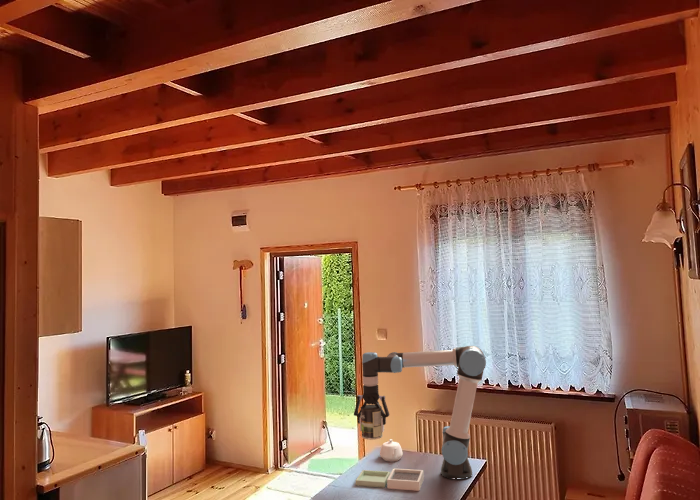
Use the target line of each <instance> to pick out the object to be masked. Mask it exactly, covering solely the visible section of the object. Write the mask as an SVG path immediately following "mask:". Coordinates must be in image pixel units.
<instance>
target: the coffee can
mask: <svg viewBox="0 0 700 500" xmlns="http://www.w3.org/2000/svg"><path fill="white" fill-rule="evenodd" d="M382 407H383V406H381V407H380V408H377V407H376V406H375V404H367V405H366V407H365V408H362V406H360V410H361V424H362V431H361V438H362V439H365V440H370V441H373V440H378V439H379V440H380V439H382V438H383V432H381V418H382V416H381V409H382V410H383V408H382Z"/></svg>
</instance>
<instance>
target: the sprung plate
mask: <svg viewBox="0 0 700 500" xmlns="http://www.w3.org/2000/svg"><path fill="white" fill-rule="evenodd" d="M419 475H420V474H418V473H402V472H395V474H394V476H393V478H392V479H396V480H411V481H417V480H418V478H419Z"/></svg>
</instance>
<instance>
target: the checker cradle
mask: <svg viewBox="0 0 700 500" xmlns="http://www.w3.org/2000/svg"><path fill="white" fill-rule="evenodd" d="M424 471H425V470H423V469H408V468H392V470H391V471H390V475H389V477H388V479H387V484H386V486H387V488H386V489H389V490H391V489H392V490H403V491H404V490H406V491H415V492H416V491H417V492H419V491H420V490H421V487H422V485H423V482H424V480H425V474H424V473H425V472H424ZM395 472H402V473H418V474H420V475H419V478H418V480H417V481H411V480H396V479H392V478H393V476H394V474H395Z"/></svg>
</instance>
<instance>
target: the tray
mask: <svg viewBox="0 0 700 500" xmlns="http://www.w3.org/2000/svg"><path fill="white" fill-rule="evenodd" d="M390 473H391V471H387V470H386V471H385V470H383V471H382V470H370V469H369V470H368V469H367V470H366V469H362V470H361V472H360V473H359V475H358V476H357V478H356V479H355V487H367V488H369V487H370V488H381V489H385V488H386V486H387V479H388V477H389V475H390Z"/></svg>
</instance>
